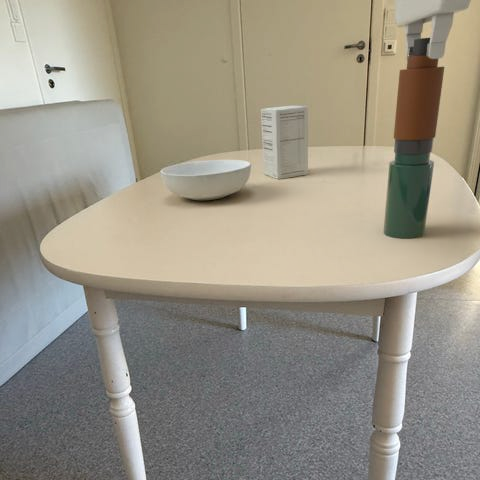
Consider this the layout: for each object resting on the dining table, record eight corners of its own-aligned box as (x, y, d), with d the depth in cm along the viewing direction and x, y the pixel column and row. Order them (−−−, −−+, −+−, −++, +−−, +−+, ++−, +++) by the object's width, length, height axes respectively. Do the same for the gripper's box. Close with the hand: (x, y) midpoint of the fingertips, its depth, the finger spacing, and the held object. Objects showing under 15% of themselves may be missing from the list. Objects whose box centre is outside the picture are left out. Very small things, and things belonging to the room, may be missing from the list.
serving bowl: (269, 189, 107) (268, 159, 104) (217, 211, 93) (214, 177, 89) (201, 184, 118) (199, 157, 115) (145, 203, 103) (140, 172, 100)
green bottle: (417, 225, 76) (429, 133, 69) (430, 237, 70) (444, 138, 63) (379, 227, 76) (387, 136, 69) (388, 239, 70) (397, 141, 64)
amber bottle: (427, 134, 68) (439, 38, 62) (441, 138, 63) (455, 34, 57) (389, 136, 69) (397, 41, 63) (399, 141, 64) (409, 38, 58)
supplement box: (292, 170, 128) (292, 105, 120) (309, 174, 120) (309, 105, 112) (262, 174, 125) (259, 108, 117) (277, 179, 117) (275, 109, 109)
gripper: (503, -103, 45) (478, 54, 52) (435, -52, 63) (423, 60, 70) (439, -96, 46) (423, 59, 53) (390, -47, 64) (382, 63, 70)
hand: (423, 60), depth 61 cm, fingers open, 8 cm apart
